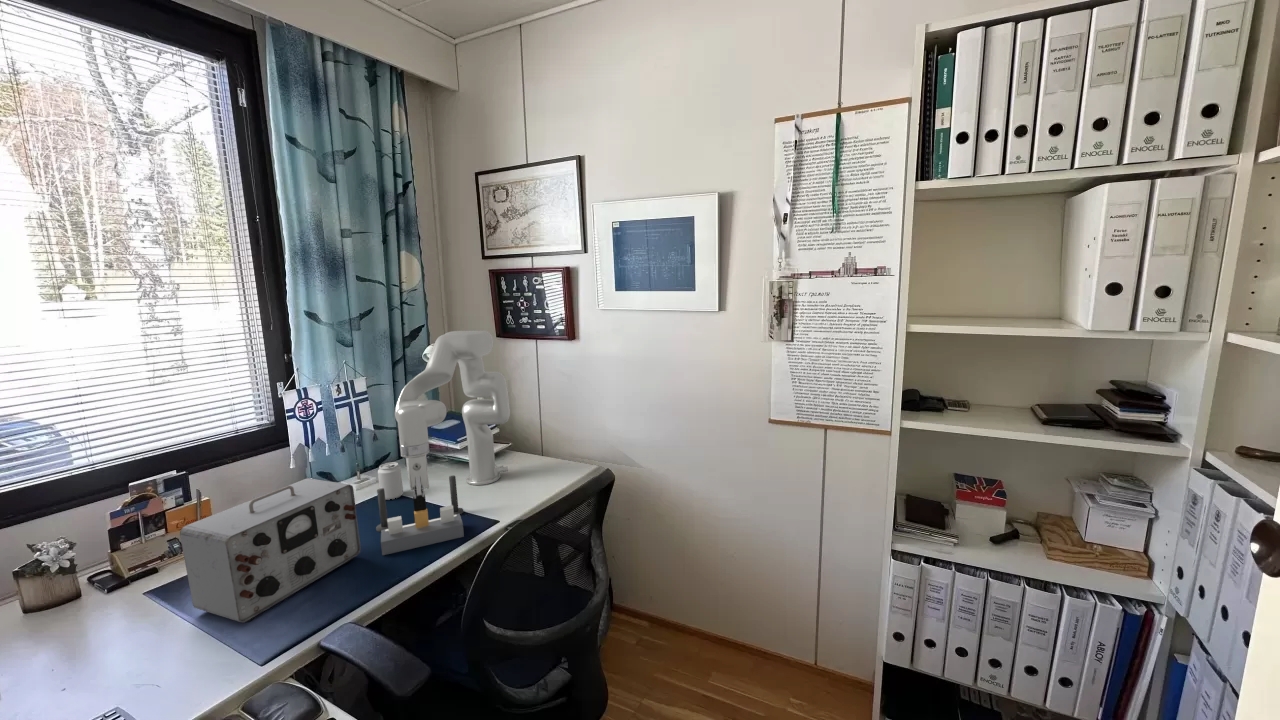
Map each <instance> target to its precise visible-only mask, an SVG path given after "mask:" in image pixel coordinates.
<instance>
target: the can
mask: <svg viewBox="0 0 1280 720" xmlns="http://www.w3.org/2000/svg"><path fill="white" fill-rule="evenodd" d="M377 477H378V478H377V479H378V486H379V487H378V489H381V488H384V491H385V500H387V501H390V499H392V500H396V499H398V498H400V497H401V496H402V495H403V494H404V487H403V485H404V484H403V476H402V467H401V466H400V465H399V463H398V462H397V461H396V462H395V461H393V462H385V463H383V464H381V465H379V468H378V470H377ZM395 498H396V499H395Z"/></svg>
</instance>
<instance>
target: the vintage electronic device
mask: <svg viewBox="0 0 1280 720" xmlns="http://www.w3.org/2000/svg"><path fill="white" fill-rule="evenodd" d="M355 498H356V497H355V491H354V487H353V485H351V484H349V483H343V482H342V483H341V482H336V481H329V480H322V479H316V478H315V479H314V478H311V477H310V478H309V477H308V478H304V479H302V480H299V481H297V482H294V483H291V484H288V485H287V486H283V487H280V488H278V489H276V490H273V491H271V492H268V493H265V494H263V495H261V496H258V497H255V498H253V499H250V500H248V501H245V502H242V503H240V504H237V505H234V506H232V507H230V508H228V509H225V510H222V511H220V512H217V513H214V514H212V515H210V516H207V517H204V518H202V519H199V520H196V521H193V522H192V523H189V524H186V525H185V526H183V527H182V528H181V529H180V532H179V536H180V542H181V549H182V552H183V553H182V554H183V559H184V564H185V570H186V575H187V580H188V585H189V591H190V596H191V602H192V606H193V608H194V609H197V610H199V611H200V610H201V611H204V612H207V613H210V614H213V615H217V616H220V617H223V618H227V619H230V620H232V621H236V622H239V623H249V622H251V621H253V620H254V619H255V618H256V617H257V616H258V615H259V614H261V613H263V612H264V611H267V610H268V609H270V608H272V607H273V606H275V605H276V604H278V603H280V602H281V601H283V600H285V599H287V598H288V597H290V596H292V595H293V594H295V593H296V592H298V591H300V590H302V589H303V588H305V587H307V586H309V585H310V584H312V583H313V582H315V581H316V580H318V579H320V578H322V577H324V576H325V575H327V574H328V573H331V572H332V571H333V570H335V569H337V568H338V567H340V566H342V565H346V564H348V563H350V561H351V560H353V559H354V558H356V557H357V556H358V555H359V554H360V553H361V549H362V548H361V547H362V546H361V541H360V533H359V532H360V531H359V524H358V514H357V507H356V499H355Z"/></svg>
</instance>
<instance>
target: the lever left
mask: <svg viewBox="0 0 1280 720" xmlns="http://www.w3.org/2000/svg"><path fill="white" fill-rule="evenodd" d="M387 523H388V529H389V535H391V534H395V533H400V532H403V520H402V515H400V516H399V515H398V516H393V517H389V518H388V519H387Z"/></svg>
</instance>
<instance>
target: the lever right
mask: <svg viewBox="0 0 1280 720" xmlns="http://www.w3.org/2000/svg"><path fill="white" fill-rule="evenodd" d="M439 513H440V515H439V516H440V518H441V523H446V522H451V521H454V510H453V505H452V504H451V505H448V506H443V507H439Z"/></svg>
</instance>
